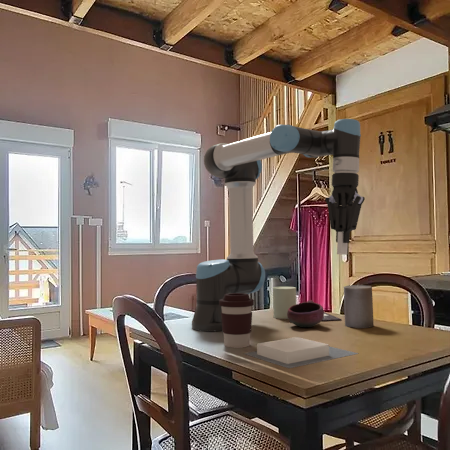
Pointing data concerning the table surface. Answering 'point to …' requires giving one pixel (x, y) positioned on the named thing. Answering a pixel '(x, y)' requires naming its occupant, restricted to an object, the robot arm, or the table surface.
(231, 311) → the coffee cup
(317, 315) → the bowl
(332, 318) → the chocolate bar
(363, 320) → the pillar candle
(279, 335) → the table surface
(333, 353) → the mat
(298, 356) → the tile
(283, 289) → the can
